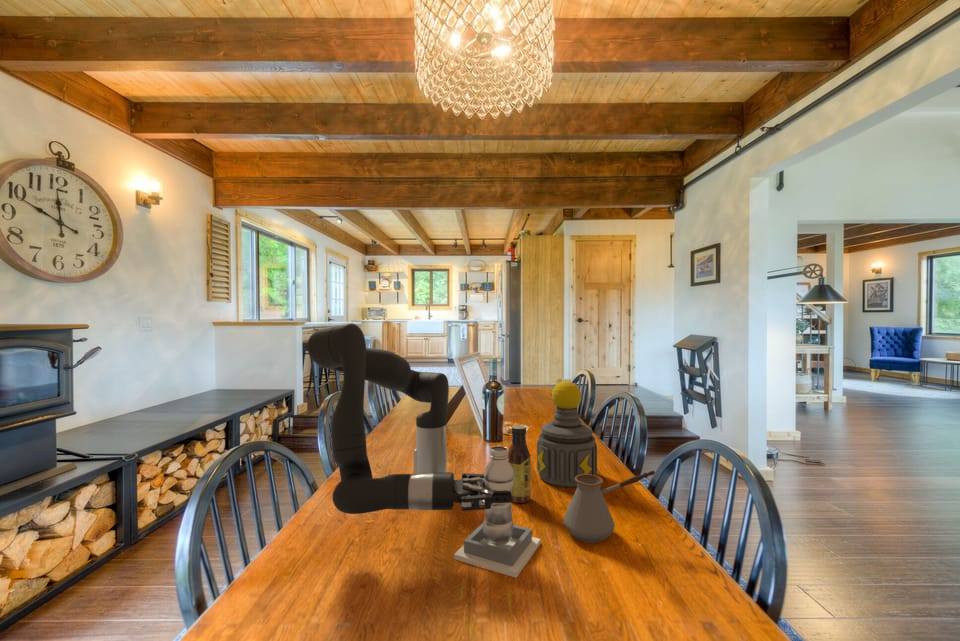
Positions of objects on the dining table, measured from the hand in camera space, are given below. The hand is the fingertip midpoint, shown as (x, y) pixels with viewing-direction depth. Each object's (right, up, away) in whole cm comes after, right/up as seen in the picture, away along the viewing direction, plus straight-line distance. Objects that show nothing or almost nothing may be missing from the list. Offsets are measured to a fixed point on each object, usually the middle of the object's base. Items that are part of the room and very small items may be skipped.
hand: (509, 490), depth 92 cm
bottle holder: (-2, -13, 0) cm, 13 cm away
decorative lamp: (+21, -13, +42) cm, 49 cm away
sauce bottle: (+4, -13, +26) cm, 29 cm away
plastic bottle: (-2, -11, 0) cm, 11 cm away
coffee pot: (+24, -13, +7) cm, 28 cm away
